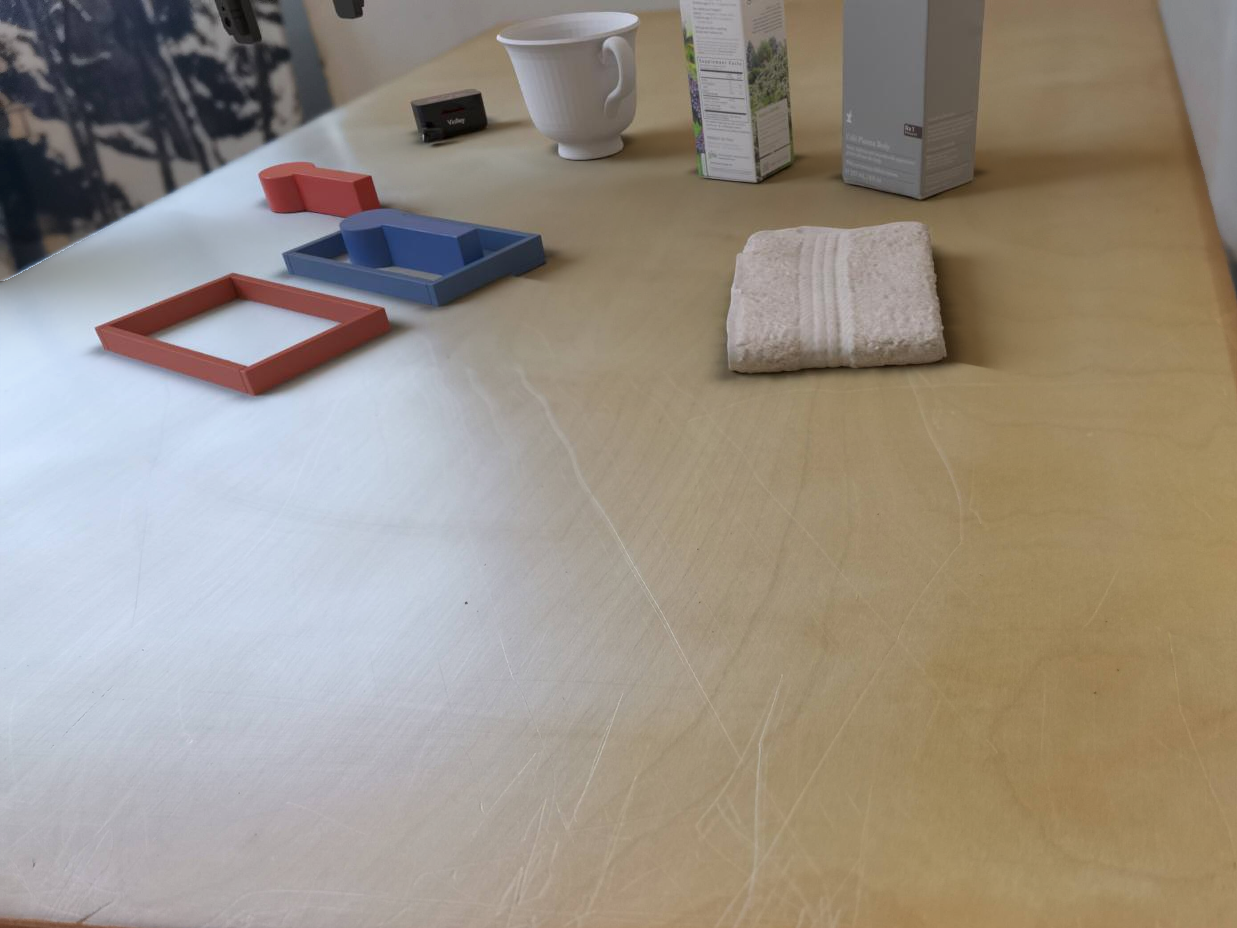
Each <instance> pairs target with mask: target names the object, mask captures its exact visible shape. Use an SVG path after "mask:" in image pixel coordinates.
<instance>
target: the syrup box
mask: <svg viewBox="0 0 1237 928" xmlns="http://www.w3.org/2000/svg"><path fill="white" fill-rule="evenodd" d="M678 1H679V8H680V18H681V19H680V20H681V25H682V26H681V27H682V35H683V36H682V37H683V45H684V53H685V61H686V71H687V79H688V80H687V81H688V87H689V89H688V90H689V96H690V97H689V98H690V105H691V115H692V122H693V130H694V131H693V132H694V140H695V151H696V157H697V168H698V175H699V176H700V177H701V178H704V179H705V178H706V179H715V180H722V181H732V182H733V181H734V182H746V183H755V184H756V183H759V182H761V181H764V180H765V179H767V178H768V177H770V176H772V175H775V174H776V173H778V172H780V171H782V170H783V169H786V168H787V167H789V166H791V165H792V164H794V162H795V155H794V153H795V151H794V138H793V137H794V136H793V123H792V122H793V121H792V107H791V92H790V74H789V72H790V71H789V59H788V58H789V57H788V44H787V41H788V40H787V28H786V15H785V14H786V13H785V12H786V11H785V0H678Z"/></svg>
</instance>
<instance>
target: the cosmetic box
mask: <svg viewBox="0 0 1237 928" xmlns="http://www.w3.org/2000/svg"><path fill="white" fill-rule="evenodd" d="M985 5H986V0H842V101H841V102H842V104H841V105H842V107H841V108H842V109H841V110H842V114H841V115H842V116H841V117H842V118H841V119H842V121H841V176H842V178H843V182H844V183H846V184H849V185H854V186H860V187H864V188H869V189H873V190H877V191H882V192H887V193H891V194H896V195H900V196H901V195H902V196H906V197H911V198H913V199H917V200H924V199H926V198H930V197H932V196H935V195H937V194H940V193H942V192H944V191H947V190H950V189H953V188H956V187H959V186H961V185H962V186H963V185H964V184H966V183H969V182H970V181H973V180H974V172H975V158H976V157H975V155H976V145H977V144H976V142H977V141H976V140H977V127H978V113H979V110H978V109H979V96H980V80H981V66H982V51H983V50H982V48H983V34H984V19H985Z"/></svg>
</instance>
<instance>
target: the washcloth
mask: <svg viewBox="0 0 1237 928" xmlns="http://www.w3.org/2000/svg"><path fill="white" fill-rule="evenodd" d="M735 257H736V258H735V259H736V261H735V270H734V277H733V282H732V284H731V285H732V286H731V287H730V306H729V308H728V313H727V318H726V319H727V320H726V329H725V330H726V333H727V334H726V335H727V343H726V348H727V362H728V363H727V364H728V370H730V371H736V372H738V373H741V374H744V373H747V374H760V373H780V372H783V371H784V372H795V371H796V372H797V371H799V370H802V369H814V368H815V369H824V368H840V367H849V368H852V369H859V368H871V367H884V366H906V365H910V364H911V365H921V364H931V363H936V362H938V361H942V360H943V358H947V347H946V341H945V338H944V328H945V326H944V325H943V323H942V316H941V313H940V312H941V306H940V305H941V303H940V298H939V296H938V293H937V287H938V286H937V285H936V283H937V281H938V280H937V277H938V275H937V274H936V273H935V262H934V260H933V258H934V256H933V249H932V236H931V232H930V227H929V226H927V225H926V224H924V223H923V222H920V221H906V220H905V221H895V222H889V223H885V224H878V225H872V226H871V225H870V226H862V227H859V228H858V227H857V228H840V227H838V228H837V227H829V226H814V225H813V226H812V225H801V226H798V227H789V228H782V229H775V230H765V229H764V230H759V231H756V232H754V233H752V234H751V235H750V236H749V237H748V239H747V241H746V244H745V245H744V247H743V251H742V252H738V253H737V254H736V256H735Z"/></svg>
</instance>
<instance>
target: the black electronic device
mask: <svg viewBox="0 0 1237 928" xmlns="http://www.w3.org/2000/svg"><path fill="white" fill-rule="evenodd" d="M410 106H411V109H412V113H413V117H414V120H415V125H416V128H417V129H416V130H417V132H418V134H419V135H420V139H421V142H423V143H425V144H432V143H435V142H438V141H441V140H442V139H445V138H448V137H449V138H450V137H454V136H458V135H462V134H466V133H472V132H476V131H480V130H484V129H486V128H488V125H489V121H488V120H489V119H488V117H487V116H488V115H487V112H486V108H485V103H484V98H483V94H482V92H481V91H480V90H479V89H476V88H467V89H462V90H457V91H451V92H448V93H444V94H443V93H442V94H437V95H432V96H427V97H423V98H417V99H413V100H411V101H410Z"/></svg>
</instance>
